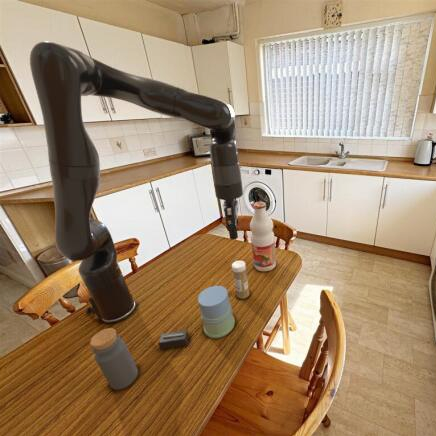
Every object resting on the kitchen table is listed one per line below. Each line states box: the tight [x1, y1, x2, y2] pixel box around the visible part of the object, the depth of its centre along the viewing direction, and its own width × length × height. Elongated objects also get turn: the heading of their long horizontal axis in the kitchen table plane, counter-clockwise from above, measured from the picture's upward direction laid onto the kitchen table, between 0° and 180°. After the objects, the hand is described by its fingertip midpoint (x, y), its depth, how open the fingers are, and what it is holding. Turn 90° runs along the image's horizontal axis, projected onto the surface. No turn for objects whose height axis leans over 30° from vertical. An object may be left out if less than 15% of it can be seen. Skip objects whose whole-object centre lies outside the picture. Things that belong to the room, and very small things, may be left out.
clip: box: [157, 329, 190, 351], centre depth 68 cm, size 7×3×3 cm, turn 99°
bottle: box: [89, 327, 139, 391], centre depth 57 cm, size 6×6×15 cm
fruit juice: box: [249, 201, 277, 272], centre depth 95 cm, size 9×9×28 cm
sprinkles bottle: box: [231, 260, 250, 300], centre depth 82 cm, size 5×5×14 cm
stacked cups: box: [197, 285, 236, 339], centre depth 71 cm, size 9×9×12 cm
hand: (234, 231), depth 72 cm, fingers open, 8 cm apart
